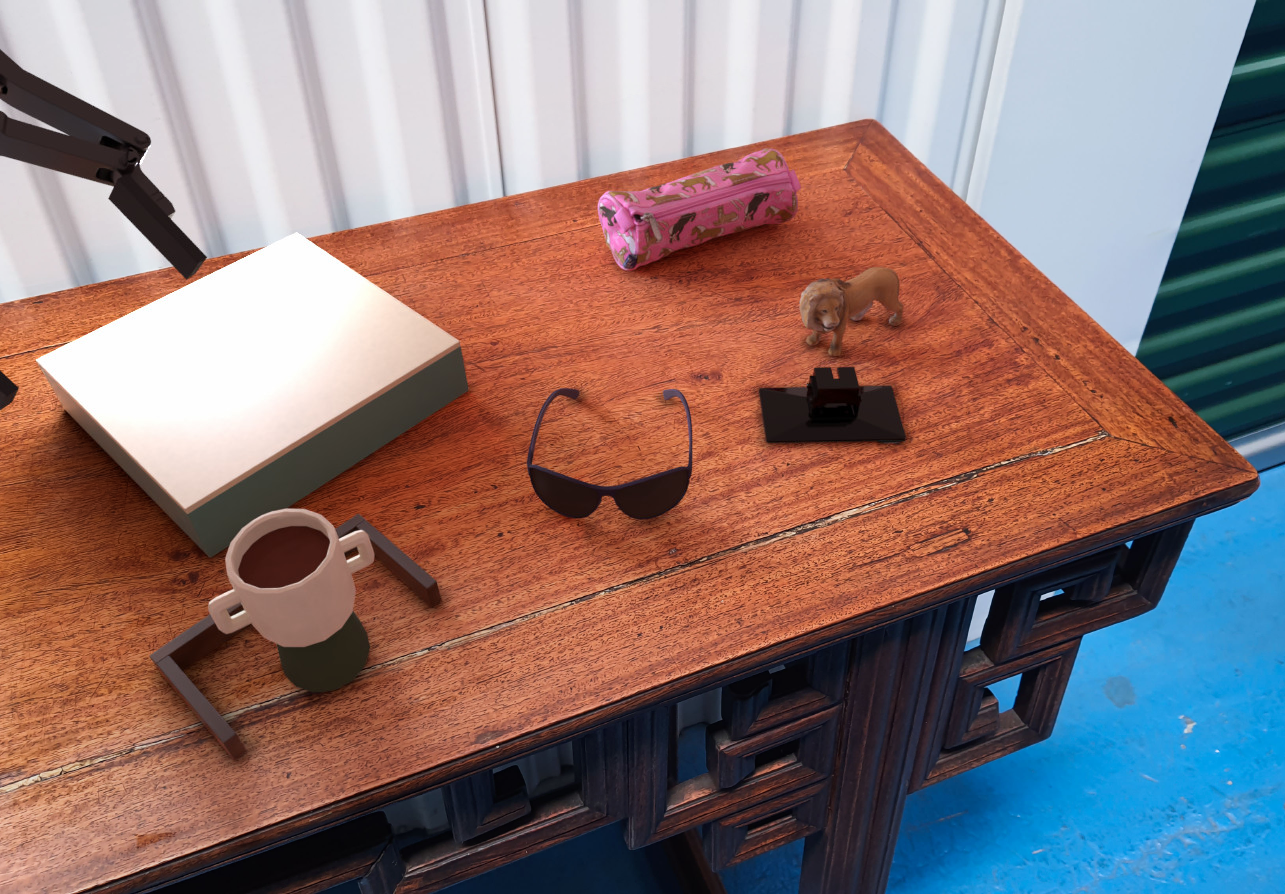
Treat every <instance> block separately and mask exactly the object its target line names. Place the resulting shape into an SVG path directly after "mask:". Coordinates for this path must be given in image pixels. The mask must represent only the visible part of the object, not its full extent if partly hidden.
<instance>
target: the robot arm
mask: <svg viewBox="0 0 1285 894" xmlns="http://www.w3.org/2000/svg"><path fill="white" fill-rule="evenodd" d="M0 100H1V101H2V102H3V103H5V104H6V105H8V106H9V107H12V108H14V109H15V110H17V111H19V112H21V113H23V114H25V115H27V116H29V117H30V118H34V119H35V120H37V121H40V122H41V123H43V124H45V125H47V126H49V127H51V128H53V129H56V130H57V131H55V130H52V129H48V128H45V127H42V126H39V125H35V124H32V123H29V122H25V121H22V120H18V119H16V118H13V117H10V116H8V115H7V114H6V112H4V111H2V110H0V157H4V158H8V159H12V160H15V161H19V162H23V163H26V164H28V165H29V164H30V165H33V166H37V167H41V168H44V169H47V170H52V171H55V172H58V173H61V174H62V173H63V174H66V175H68V176H69V175H70V176H72V177H77V178H80V179H84V180H87V181H92V182H95V183H99V184H102V185H106V186H109V187H113V188H112V190H111V192H110V193H109V196H108V200H109V201H110V202H111V203H112V204H113V206H115V208H116V209H117V210H118V211H119V212H120V213H121V214H122V215H123V216H125V218H126V219H127V220H128V221H129V222H130V223H131V224H132V225H133V226H134V227H135V229H137V230H138V231H139V232H140V234H141V235H143V236H144V238H145V239H147V241H148V242H149V243H150V244H151V245H152V246H153V247H154V248H155V249H156V250H157V251H158V252H159V253H160V254H161V255H162V256H163V257H164V258H165V259H166V260H167V261H168V263H170V264H171V266H172V267H173V268H174V269H175V270H176V271H177V272H178V273H179V274H180V275H181V276H182V277H183V278H184V279H185V281H188V280H189V279H190V278H191V277H193V276H194V275H196V274H197V273H198V271H199V269H200V268H201V267H202V266H203V264H204V263H205V261H206V260H207V259H208V256H207V255H206V254H205V253H204V252H203V251H202V250H201V249H200V248H199V247H198V245H196V244H195V242H194V241H192V239H191V238H190V237H189V236H188V235H187V234H186V233H185V232H184V231H183V230H182V228H180V227H179V225H178V224H176V223H175V222H174V220H172V218H173V216H174V215H175V214H176V209H175V207H174V203H173V202H171V200H170V199H169V198H168V197H167V196H166V195H165V194H164V193H163V192H162V191H161V190H160V189H159V188H158V186H157V185H156V184H155V183H153V181H152V180H151V179H150V178H149V177H148V176H147V175H146V174H145V173H144V172H143V171H142V168H141V164H142V163H143V161H144V159H145V156H146V154H147V153H148V151H149V149H150V147H151V144H152V139H151V137H150V135H149V134H148V133H146V132H145V131H143V130H141V129H139V128H137V127H135V126H133V125H132V124H130V123H128V122H126V121H124V120H122V119H120V118H119V117H116V116H114V115H112V114H111V113H108V112H107V111H105V110H103V109H101V108H99V107H97V106H95V105H94V104H92V103H89V102H87V101H86V100H83V99H81V98H79V97H78V96H76V95H73V94H71V93H70V92H68V91H66V90H64V89H62V88H60V87H58V86H56V85H55V84H53V83H51V82H49V81H47V80H45V79H43V78H41V77H38V76H37V75H35V74H33V73H31V72H29V71H27V70H25V69H24V68H22V67H21V66H20V65H19V64H18V63H17V62H15V61H14V59H12V58H11V57H10V56H9V55H8V54H7V53H6V52H4V51H3V50H2V49H1V48H0ZM19 389H20V387H19V386H18V385H17V384H16V383H15V382H13V380H11V378H9V377H8V376H7V375H6V374H5V373H4V372H3V371H2V370H0V411H2V410H3V409H5V408H6V407H8V406H10V404H12V403H13V402H14V400H15V397H16V395H17V393H18V391H19Z"/></svg>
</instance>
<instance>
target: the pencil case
mask: <svg viewBox="0 0 1285 894" xmlns="http://www.w3.org/2000/svg"><path fill="white" fill-rule="evenodd" d="M801 189H802V186H801V183H800V181H799V178H798V176H797V173H796V170H795V169H791V170H790V169H789V166H788V162H787V161H786V158H785V157H784V156H783V154H782V153H781V152H780V151H778V150H777V149H774V148H762V149H760V150H758V151H754V152H751V153H749V154H747V155H745V156H744V157H742V158H741V159H739V160H738V161H735V162H727V163H723V164H719V165H715V166H712V167H709V168H706V169H703V170H701V171H697V172H695V173H692V174H689V175H686V176H683V177H680V178H678V179H675V180H673V181H668V182H666V183H663V184H659V185H657V186H651V187H648V188H645V189H643V190H607V191H605V192H604V193H603V194H602V195H601V196H600V197H599V199H598V203H597V214H598V219H599V222H600V225H601V229H602V233H603V236H604V238H605V240H604V241H605V244H606V246H607V248H609V250H610V252H611V255H612V257H613V259H614V260H615V263H616V264H617V266H618V267H620V268H621V269H622V270H624V271H627V272H631V271H634V270H637V269H638V268H639V267H643V266H646V265H648V264H651V263H653V262H657V261H659V260H660V259H663V258H666V257H668V256H669V255H671V254H672V253H673V252H677V251H679V250H683V249H688V248H692V247H695V246H698V245H701V244H704V243H705V242H707V241H710V240H712V239H716V238H719V237H723V236H728V235H730V234H735V233H736V234H737V233H740V232H744V231H747V230H750V229H753V228H755V227H760V226H764V225H775V224H777V225H779V224H780V225H781V224H784V223H786V222H790V221H791V220H793V219H794V218H795V217H796V215H797V212H798V209H799V199H798V194H797V193H798V192H799V190H801Z"/></svg>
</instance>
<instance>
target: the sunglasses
mask: <svg viewBox="0 0 1285 894" xmlns="http://www.w3.org/2000/svg"><path fill="white" fill-rule="evenodd" d="M662 395H663V398H664V400H665V401H668V400H671V399H672V398H674V397H677V398H678V399H679V400H680V401H681V403H682V406H683V408H684V411H685V415H686V420H687V430H688V433H687V434H688V443H689V444H688V462H687V466H684V465H683V466H682V465H681V466H678V467H675V468H671V469H667V470H664V471H660V472H658V473H655V474H651V475H648V476H644V477H642V478H639V479H635V480H632V481H628V482H624V483H620V484H616V485H599V484H593V483H590V482H587V481H585V480H580V479H577V478H575V477H571V476H569V475H566V474H563V473H560V472H557V471H555V470H553V469H551V468H547V467H544V466H541V465H538V464H536V463H535V464H534V463H533V460H534V454H535V451H536V444H537V440H538V436H539V433H540V429H541V425H542V422H543V419H544V417H545V414H546V412H547V410H548V409H549V406H550V405H551V404H552V402H553V401H554V400H555V399H556V398H558V397H561V396H563V397H565V398H570V399H572V400H577V399H578V398H579V396H580V390H579V389H578V388H569V387H562V388H557V389H556V390H554V391H552V392H551V393H550V394H549V396H547V398H546V400H545V401H544V403H542V406H541V408H540V410H539V413H538V414H537V417H536V420H535V423H534V427H533V430H532V434H531V438H530V443H529V448H528V451H527V456H526V468H527V469H526V470H527V474H528V477H529V481H530V483H531V487H532V489H533V492H534V493H535V495H536V497H538V498H539V500H540V501H541V502H542V503H543V504H544V505H545V506H546V507H547V508H548V509H550V510H552V511H553V512H555V513H556V514H559V515H561V516H563V517H567V518H568V519H569V518H570V519H574V520H575V519H578V520H581V519H585V518H587V517H589V516H592V514H594V513H595V512H596V511H597V509H598V508H599V506H600V505H601V503H602V500H603V497H611V498H612V499H613V501H614V503H615V506H616V507H618V509H619V510H620V511H621V512H622V513H623V514H624V515H625V516H627V517H628V518H631V519H634V520H638V521H641V520H650V519H654V518H657V517H660V516H662V515H664V514H666V513H668V512H670V511H671V510H673V509H674V508H675V507H677V506H678V504H680V502H681V501H682V500H683V499H684V498H685V496H686V494H687V492H688V489H689V485H690V479H691V478H692V474H693V460H694V459H693V453H694V452H693V451H694V450H693V444H694V443H693V441H694V440H693V421H692V415H691V410H690V406H689V402H688V401H687V398H686V396H685V395H684V394H683V392H682V391H680V390H679V389H676V388H670V389H669V388H667V389H663V390H662Z"/></svg>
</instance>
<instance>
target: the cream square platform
mask: <svg viewBox="0 0 1285 894" xmlns="http://www.w3.org/2000/svg"><path fill="white" fill-rule="evenodd" d="M35 362H36V364H37V366H38V368H39V370H41V373H42V374H43V375H44V378H45V379H46V381H47V382H48V384H49V386H50V388H51V390H52V391H53V392H54V395H55V396H56V398H57V399H58V401H59V403H60V405H61V406H62V408H63V410H64V411H65V412H66V413H67V414H68V415H69V416H70V417H71V418H72V419H73V420H74V421H75V422H76V424H78V425H79V426H80V427H81V428H82V429H83V430H84V431H85V433H87V434H88V435H89V436H90V437H91V438H92V439H93V440H94V441H95V442H96V444H97V445H98V446H99V447H101V448H102V450H103V451H104V452H106V454H107V455H108V456H109V457H110V458H111V459H112V460H113V461H114V462H115V463H116V464H117V465H118V466H119V467H120V468H121V469H123V471H124V472H125V473H126V474H127V475H128V476H129V477H130V478H131V479H132V480H133V481H134V483H136V484H137V486H139V487H140V488H141V489H142V491H143V492H144V493H146V495H148V497H150V498H151V499H152V501H153V502H154V503H155V504H156V505H157V506H158V507H159V508H160V509H161V510H162V511H163V512H164V513H165V514H166V515H167V516H168V517H169V518H170V519H171V520H172V521H173V522H174V523H175V524H176V525H177V526H178V527H179V528H180V529H181V530H182V531H183V533H185V535H187V537H189V539H190V540H191V541H193V542H194V544H196V546H197V547H198V548H199V549H200V550H201V551H202V552H203V553H204V554H205V555H206V556H207V557H208V558H209V559H212V558H213V557H214V556H216V555H218V554H219V553H221V552H222V551H224V550H226V549H227V548H229V546H230V543H231V542H232V540H233V539H234V538H235V537H236V535H237V534H238V533H239V532H240V530H241V529H242V528H243V527H245V526H246V525H247V524H249V523H250V522H251V521H253V520H254V519H256V518H258V517H260V516H261V515H264V514H266V513H269V512H272V511H277V510H282V509H289V508H291V506H293V505H295V504H296V503H298V502H299V501H301V500H302V499H304V498H306V497H307V496H309V495H310V494H312V493H314V492H315V491H317V490H318V489H319V488H321V487H323V486H324V485H325V484H327V483H329V482H330V481H332V480H333V479H335V478H336V477H338V476H339V475H341V474H343V473H344V472H345V471H347V470H349V469H351V468H352V467H353V466H355V465H356V464H358V463H360V462H361V461H363V460H364V459H366V458H367V457H369V456H370V455H372V454H373V453H375V452H376V451H378V450H380V449H381V448H383V447H384V446H386V445H387V444H389V443H390V442H392V441H393V440H396V438H398V437H400V436H401V435H403V434H405V433H406V432H407V431H409V430H410V429H412V428H413V427H415V426H416V425H418V424H419V423H421V422H423V421H424V420H426V419H427V418H429V417H430V416H432V415H433V414H435V413H437V412H438V411H440V410H442V409H443V408H444V407H446V406H447V405H449V404H451V403H452V402H454V401H455V400H456V399H458V398H459V397H461V396H463V395H465V394H466V393H468V392H469V391H470V387H469V383H468V378H467V372H466V366H465V362H464V357H463V350H462V346H461V341H460V340H459V339H457V338H456V337H455V336H453V335H451V334H450V333H448V332H447V331H445V330H444V329H442V328H441V327H439V326H438V325H436V324H435V323H433V322H432V321H430V320H429V319H427V318H426V317H425V316H423V315H422V314H420V313H418V312H417V311H415V310H414V309H412V308H411V307H410V306H408V305H407V304H405V303H403V302H402V301H401V300H399V299H397V298H396V297H394V296H393V295H391V294H390V293H388V292H386V291H385V290H384V289H382V288H381V287H379V286H377V285H376V284H375V283H374V282H371V281H370V280H369V279H367V278H366V277H365V276H363V275H361V274H359V272H357V271H355V270H354V269H352V268H351V267H349V266H348V265H346V264H345V263H343V262H342V261H340V260H339V259H337V258H336V257H334V256H333V255H331V254H330V253H328V252H327V251H325V250H324V249H322V248H321V247H320V246H318V245H316V244H315V243H314V242H312V241H310V240H309V239H307V238H306V237H304V236H303V235H302V234H300V233H298V232H294V233H293V234H290V235H288V236H286V237H284V238H283V239H280V240H278V241H276V242H274V243H272V244H270V245H268V246H266V247H264V248H262V249H260V250H258V251H256V252H254V253H252V254H250V255H247V256H246V257H244V258H241V259H239V260H237V261H236V262H233V263H231V264H229V265H226V266H225V267H223V268H221V269H218V270H216V271H214V272H213V273H211V274H208V275H206V276H203V277H202V278H200V279H197V280H196V281H194V282H192V283H190V284H188V285H186V286H184V287H182V288H180V289H178V290H175V291H174V292H172V293H169V294H167V295H166V296H165V295H164V296H163V297H161V298H159V299H157V300H155V301H153V302H151V303H149V304H147V305H145V306H143V307H141V308H139V309H136V310H135V311H133V312H130V313H128V314H127V315H125V316H122V317H120V318H118V319H116V320H114V321H112V322H110V323H108V324H106V325H104V326H102V327H100V328H97V329H96V330H93V331H92V332H89V333H88V334H85V335H83V336H82V337H80V338H77V339H75V340H73V341H71V342H69V343H67V344H65V345H62V346H60V347H59V348H56V349H55V350H53V351H50V352H48V353H46V354H44V355H42V356H40V357H38V358H36V359H35Z"/></svg>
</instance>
